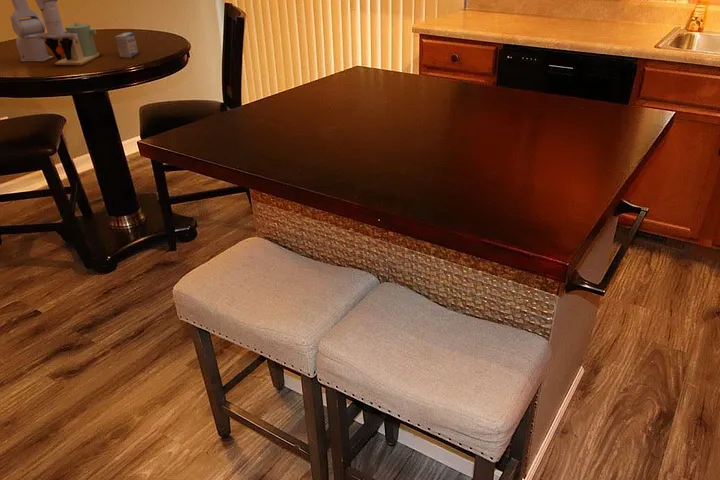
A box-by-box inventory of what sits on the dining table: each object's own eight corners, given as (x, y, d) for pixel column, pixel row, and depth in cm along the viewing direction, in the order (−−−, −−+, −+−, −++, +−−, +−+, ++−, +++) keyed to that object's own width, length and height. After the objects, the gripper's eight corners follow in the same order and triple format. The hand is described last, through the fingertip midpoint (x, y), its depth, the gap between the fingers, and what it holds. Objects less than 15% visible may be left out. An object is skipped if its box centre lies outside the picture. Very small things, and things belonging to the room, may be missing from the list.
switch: (65, 56, 218) (61, 47, 215) (56, 56, 218) (52, 47, 215) (77, 44, 226) (73, 35, 223) (68, 43, 226) (65, 35, 223)
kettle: (68, 60, 231) (57, 24, 223) (81, 54, 240) (71, 19, 233) (96, 60, 231) (87, 25, 223) (109, 54, 240) (100, 20, 233)
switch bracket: (81, 66, 223) (73, 39, 217) (55, 65, 223) (47, 39, 217) (95, 58, 233) (88, 33, 227) (71, 58, 233) (63, 33, 228)
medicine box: (131, 58, 233) (125, 36, 229) (120, 58, 233) (114, 36, 229) (138, 54, 240) (133, 32, 235) (128, 54, 240) (123, 32, 235)
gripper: (27, 23, 209) (40, 61, 217) (66, 23, 209) (77, 61, 216) (38, 19, 215) (50, 57, 223) (76, 20, 215) (86, 57, 222)
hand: (64, 59), depth 220 cm, fingers closed on switch, 3 cm apart
